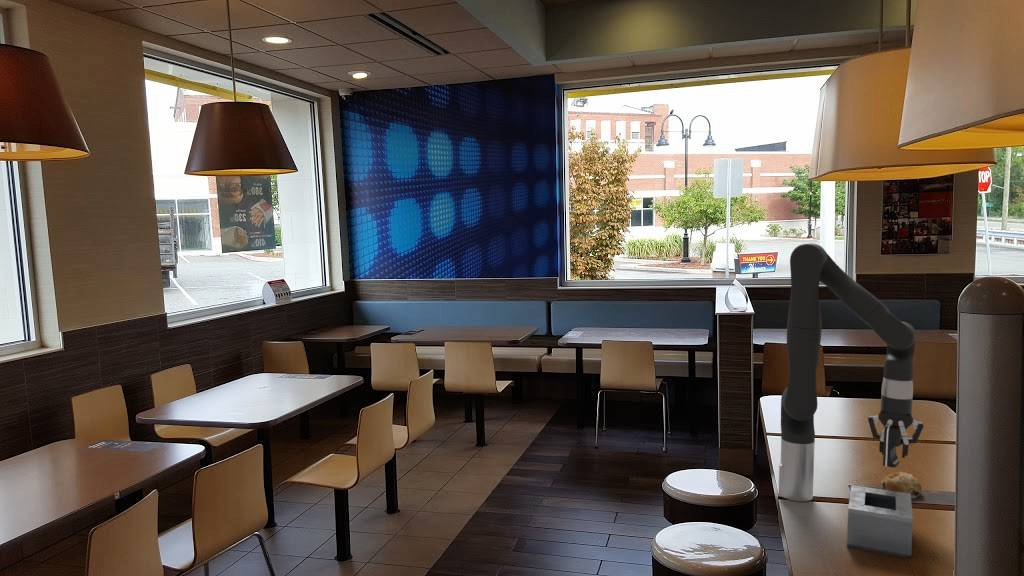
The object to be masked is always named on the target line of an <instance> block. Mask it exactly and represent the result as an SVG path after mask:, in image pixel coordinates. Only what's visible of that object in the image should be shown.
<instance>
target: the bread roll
mask: <svg viewBox="0 0 1024 576" xmlns="http://www.w3.org/2000/svg"><path fill="white" fill-rule="evenodd" d="M881 485H882V488H883V490H888V491H895V492H901V493H908V494H911V499H915V498H917V497H919V496H921V494H922V491H923V488H922V484H921V483H920V481H919V480H918V478H917V477H915V476H914V475H913V474H909V473H907V472H904V471H897V472H896V471H894V472H891V473H889V474H887V475H886V476H884V479H881Z"/></svg>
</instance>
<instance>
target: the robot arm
mask: <svg viewBox="0 0 1024 576" xmlns="http://www.w3.org/2000/svg"><path fill="white" fill-rule="evenodd" d="M789 265H790V266H789V267H790V285H791V286H790V288H791V289H790V299H789V304H788V314H787V325H786V327H787V328H786V354H787V361H788V370H789V371H788V381H787V387H786V388H785V389H784V390H783V392H782V394H781V397H780V398H781V399H780V431H781V432H780V434H781V436H780V461H779V462H780V463H779V467H778V494H777V495H778V497H779V498H780V497H781V498H784V499H786V500H790V501H793V502H809V501H812V500H813V498H814V497H813V496H814V476H815V475H814V474H815V473H814V472H815V448H816V447H815V444H816V443H815V441H816V431H815V422H814V421H815V419H814V418H815V417H814V416H815V414H816V412H817V410H818V392H817V371H818V363H819V357H820V349H821V341H822V340H821V339H822V326H823V325H822V312H821V306H820V305H821V304H820V299H819V290H820V289H819V287H820V283H822V284H823V285H824V286H826V287H827V288H828V289H829V290H830V291H831V292H833V294H834V296H837V298H838V299H839V300H840V301H841V302H842V304H843V305H844V306H845V307H847V309H848V310H849V311H850V312H852V313H853V314H854V315H855V316H857V318H858V319H860V320H861V321H862V322H864V324H866V325H868V326H869V327H870V328H871V329H872V331H873V332H874V333H875V334H876V335H877V336H878V337H879V338H880V339H881V340H882V341H883V342H884V343H885V344H886V357H885V360H884V365H883V377H882V378H883V379H882V383H881V391H880V392H881V397H880V411H879V413H878V414H877V415H868V417H867V421H868V424H869V428H870V432H871V434H872V438H873V439H875V440H878V441H879V443H878V444H879V446H878V447H879V448H878V451H879V453H881V455H882V456H883V452H884V432H885V427H886V426H897V427H900V430H901V435H902V438H903V443H902V444H901V446H902V447H901V458H903V459H904V458H906V457H907V456H908V455H909V445H911V444H914V445H915V444H916V443H917V442H918V440H919V438H920V436H921V433H922V431H923V429H924V422H923V421H918V420H916V419H914V418H913V416H912V410H913V395H914V382H913V380H914V379H913V378H914V356H915V355H914V354H915V347H916V340H917V333H916V329H915V328H914V327H913V326H912V324H910V323H909V322H906V321H901V320H900V319H899V318H897V316H895V315H894V314H893V313H891V311H890V310H889V308H888V307H887V306H886V305H885V304H884V303H883V302H882V301H880V300H879V299H878V298H877V297H876V296H875V295H873V294H872V293H870V291H868V290H867V289H865V288H864V286H862V285H860V283H859V282H857V281H856V280H854V279H853V278H852V277H850V276H849V275H848V274H847V273H846V272H845V271H844V270H843V269H842V268H841V267H840V266H839V265H838V264H837V263H836V262H835V261H834V260H833V258H832V257H831V256H830V255H829V253H828V252H827V251H826V250H825V249H824V247H822V246H821V245H819V244H817V243H812V242H808V243H802V244H799V245H797V246H796V247H794V249H793V250H792V252H791V254H790V256H789ZM878 420H879V422H880V423H881V424H882V426H883V428H882V431H881V432H880V433H878V430H877V426H876V424H877V423H878ZM911 425H913V428H914V431H913V434H912V436H911V437H908V436H909V435H908V434H907V429H908V428H909V427H910V426H911Z"/></svg>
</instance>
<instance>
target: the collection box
mask: <svg viewBox="0 0 1024 576" xmlns="http://www.w3.org/2000/svg"><path fill="white" fill-rule="evenodd" d="M912 504H913V503H912V498H911V494H908V493H901V492H895V491H888V490H884V489H881V488H874V487H873V488H872V487H867V486H860V485H855V484H850V493H849V502H848V510H847V535H846V537H847V538H846V539H847V540H846V547H847V548H851V549H856V550H861V551H867V552H873V553H877V554H882V555H887V556H893V557H898V558H903V557H904V559H908V558H909V560H912V550H913V549H912V546H913V529H914V527H913V524H914V518H913V505H912Z"/></svg>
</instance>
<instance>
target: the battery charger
mask: <svg viewBox="0 0 1024 576" xmlns="http://www.w3.org/2000/svg"><path fill="white" fill-rule="evenodd" d="M902 443H903V438H902V435H901V430H900V427H897V426H886V427H885V432H884V452H883V455H882V458H883V459H882V466H883V467H886V468H887V467H888V468H896V467H898V466H899V465H900V464H901V460H900V459H899V457H898V456H897V447H900V446H902Z"/></svg>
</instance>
